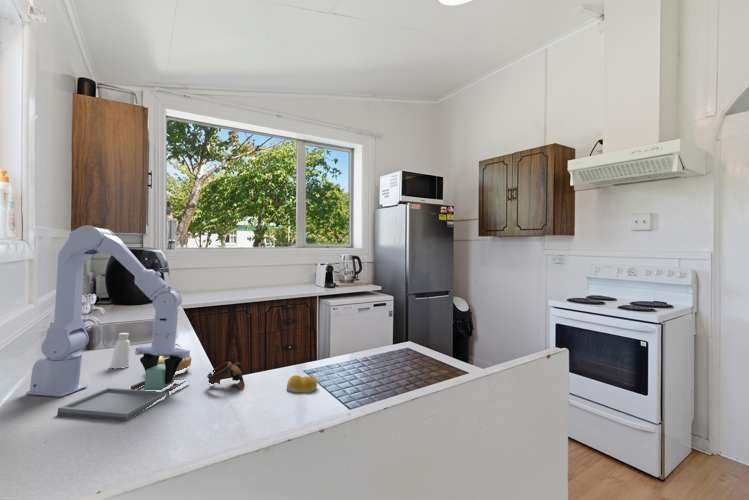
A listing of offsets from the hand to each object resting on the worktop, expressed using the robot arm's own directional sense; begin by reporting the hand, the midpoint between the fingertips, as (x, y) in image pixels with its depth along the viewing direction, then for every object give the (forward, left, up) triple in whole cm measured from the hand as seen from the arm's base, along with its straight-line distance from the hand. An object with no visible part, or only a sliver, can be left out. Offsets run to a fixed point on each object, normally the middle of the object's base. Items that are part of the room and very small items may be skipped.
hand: (159, 382), depth 98 cm
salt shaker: (-24, +16, -2) cm, 29 cm away
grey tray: (-2, -13, -2) cm, 13 cm away
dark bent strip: (0, 0, -2) cm, 2 cm away
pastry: (-7, +15, -2) cm, 17 cm away
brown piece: (+17, +7, -2) cm, 18 cm away
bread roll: (+38, +10, -2) cm, 39 cm away
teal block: (0, 0, -2) cm, 2 cm away
